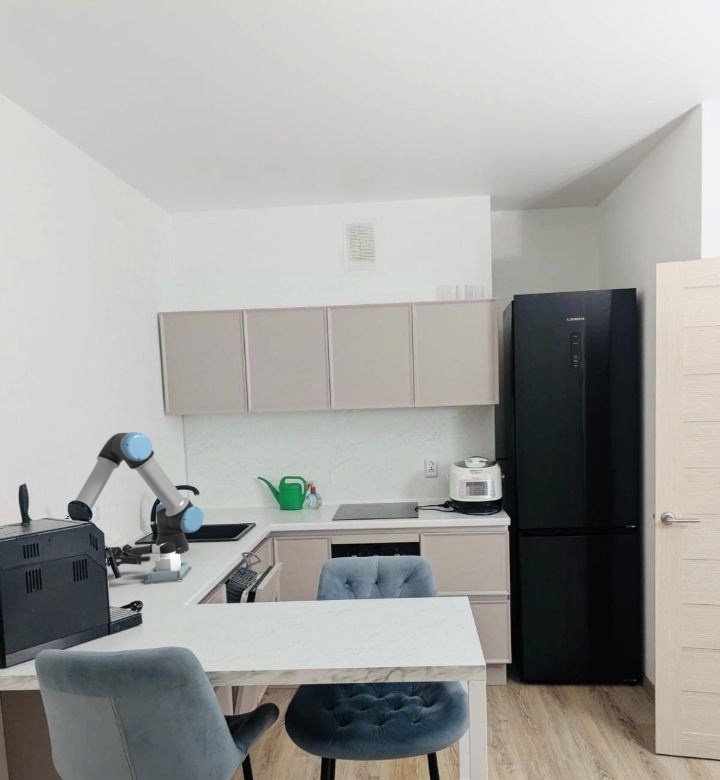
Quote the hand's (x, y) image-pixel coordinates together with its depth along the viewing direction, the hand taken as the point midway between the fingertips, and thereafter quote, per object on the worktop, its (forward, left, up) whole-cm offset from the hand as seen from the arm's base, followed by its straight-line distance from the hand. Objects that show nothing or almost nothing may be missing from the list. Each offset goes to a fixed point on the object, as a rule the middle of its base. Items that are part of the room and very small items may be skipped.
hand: (164, 552), depth 235 cm
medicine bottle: (0, +1, -9) cm, 9 cm away
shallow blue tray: (0, +1, -10) cm, 10 cm away
